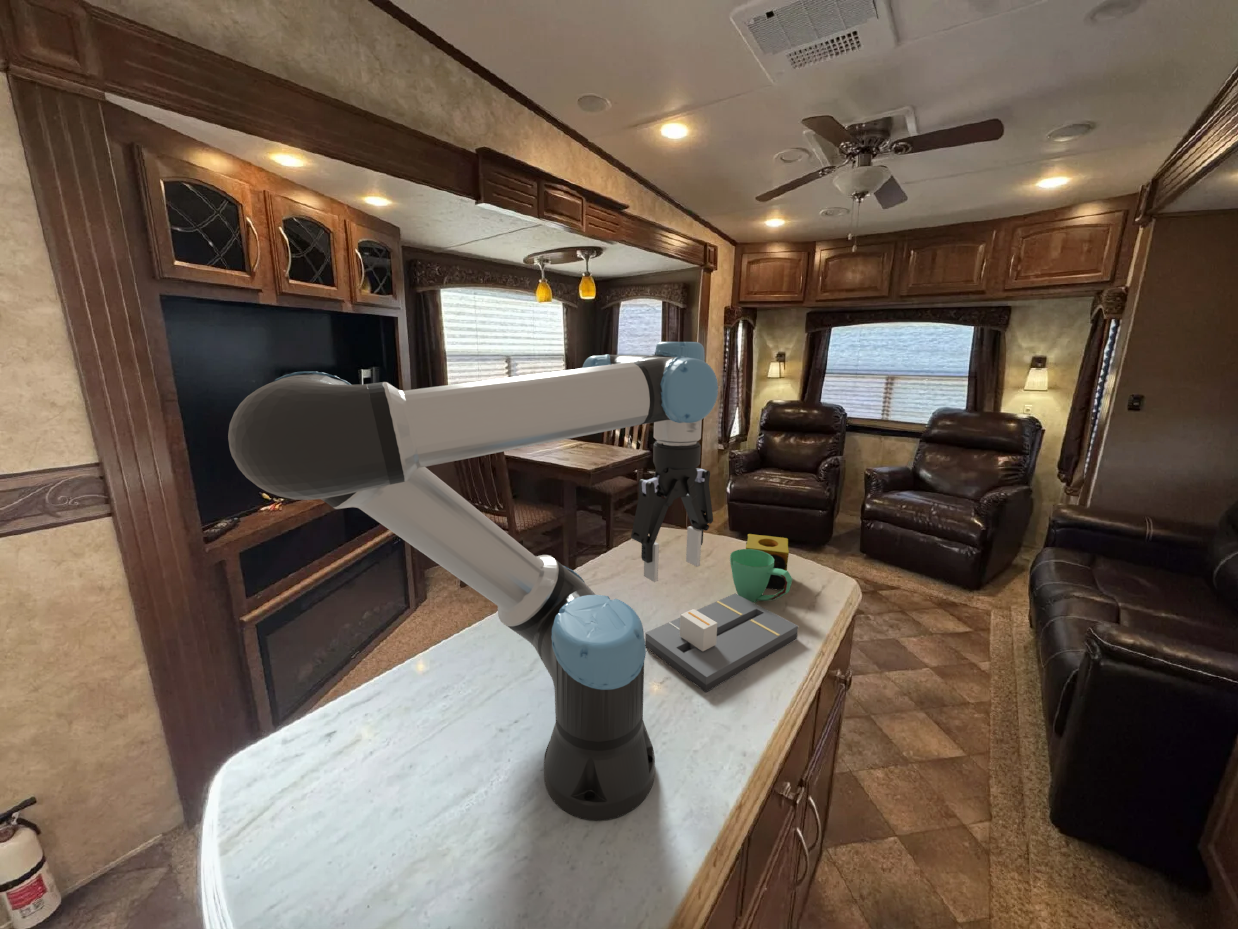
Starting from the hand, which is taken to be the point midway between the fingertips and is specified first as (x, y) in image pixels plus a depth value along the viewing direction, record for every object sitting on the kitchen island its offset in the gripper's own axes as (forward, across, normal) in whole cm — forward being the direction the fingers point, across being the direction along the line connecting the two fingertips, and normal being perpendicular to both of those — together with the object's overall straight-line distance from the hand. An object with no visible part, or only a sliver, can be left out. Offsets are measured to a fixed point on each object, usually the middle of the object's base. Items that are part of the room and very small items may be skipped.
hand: (672, 570), depth 83 cm
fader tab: (+18, +7, 0) cm, 19 cm away
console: (+19, +14, 0) cm, 24 cm away
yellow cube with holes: (+20, +43, +12) cm, 49 cm away
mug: (+20, +33, +6) cm, 39 cm away
